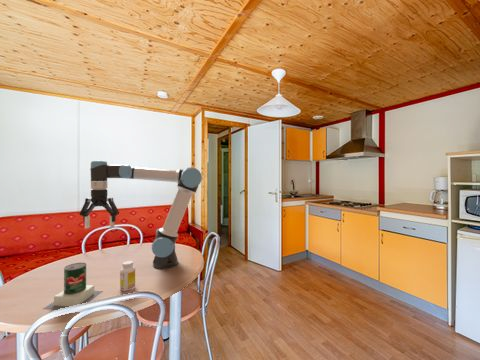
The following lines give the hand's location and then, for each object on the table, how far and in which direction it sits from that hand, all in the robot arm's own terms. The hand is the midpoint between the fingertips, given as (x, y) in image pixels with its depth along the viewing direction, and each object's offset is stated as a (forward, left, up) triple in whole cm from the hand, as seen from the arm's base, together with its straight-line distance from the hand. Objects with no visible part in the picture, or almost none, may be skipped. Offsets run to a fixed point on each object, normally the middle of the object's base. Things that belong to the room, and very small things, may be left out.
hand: (99, 228), depth 113 cm
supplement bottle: (-21, +8, -28) cm, 36 cm away
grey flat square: (-4, +20, -28) cm, 34 cm away
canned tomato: (-4, +20, -24) cm, 31 cm away
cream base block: (-4, +20, -27) cm, 34 cm away
